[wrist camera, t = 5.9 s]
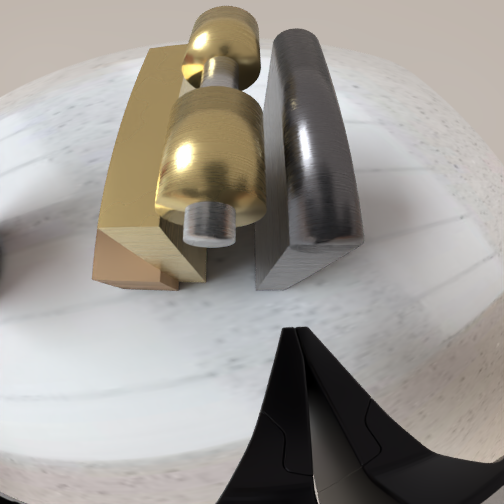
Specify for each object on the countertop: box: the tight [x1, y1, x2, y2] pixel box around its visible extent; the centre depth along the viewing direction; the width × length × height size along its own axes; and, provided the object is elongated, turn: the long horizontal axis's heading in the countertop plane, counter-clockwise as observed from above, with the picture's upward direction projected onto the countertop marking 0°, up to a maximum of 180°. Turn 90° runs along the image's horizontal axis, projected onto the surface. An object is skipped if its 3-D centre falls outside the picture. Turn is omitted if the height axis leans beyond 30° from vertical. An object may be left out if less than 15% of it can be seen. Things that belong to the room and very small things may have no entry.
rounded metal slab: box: [255, 29, 364, 291], centre depth 11 cm, size 7×2×11 cm, turn 1°
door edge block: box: [92, 229, 179, 291], centre depth 14 cm, size 8×4×4 cm, turn 1°
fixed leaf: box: [97, 6, 267, 283], centre depth 11 cm, size 8×4×12 cm, turn 1°
